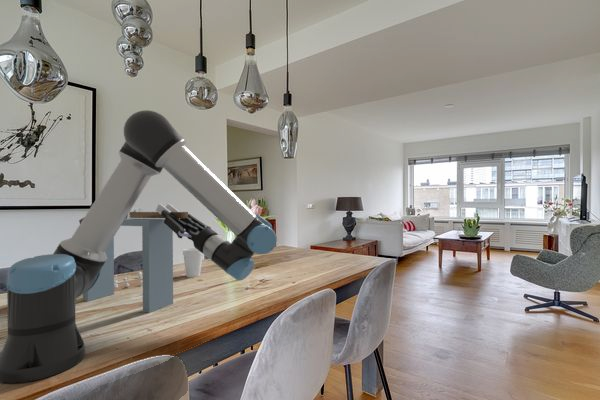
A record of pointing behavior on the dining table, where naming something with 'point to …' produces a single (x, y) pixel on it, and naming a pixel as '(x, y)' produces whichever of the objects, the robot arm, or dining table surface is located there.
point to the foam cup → (192, 261)
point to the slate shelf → (144, 265)
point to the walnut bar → (156, 215)
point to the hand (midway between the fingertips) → (162, 207)
